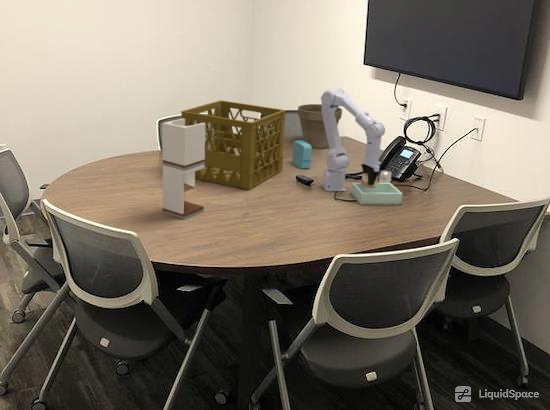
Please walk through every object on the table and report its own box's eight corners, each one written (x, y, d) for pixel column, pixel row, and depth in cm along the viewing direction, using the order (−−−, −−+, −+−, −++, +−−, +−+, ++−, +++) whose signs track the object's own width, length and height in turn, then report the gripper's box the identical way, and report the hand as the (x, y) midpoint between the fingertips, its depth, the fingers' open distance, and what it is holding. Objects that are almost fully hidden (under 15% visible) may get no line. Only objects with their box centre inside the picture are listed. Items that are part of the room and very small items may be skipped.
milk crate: (180, 176, 262) (180, 111, 252) (219, 158, 293) (220, 100, 282) (249, 191, 249) (252, 123, 239) (282, 171, 280) (286, 110, 269)
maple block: (365, 187, 243) (366, 176, 242) (361, 184, 248) (362, 173, 246) (376, 187, 244) (377, 176, 243) (372, 184, 249) (373, 173, 247)
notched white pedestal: (184, 219, 214) (185, 128, 202) (163, 213, 219) (162, 122, 207) (203, 211, 223) (205, 123, 211) (182, 205, 228) (183, 118, 216)
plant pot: (292, 148, 321) (295, 109, 314) (298, 138, 344) (300, 102, 336) (336, 152, 318) (340, 114, 310) (339, 142, 341) (343, 106, 333)
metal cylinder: (380, 188, 264) (382, 173, 261) (377, 184, 268) (379, 170, 266) (391, 188, 265) (393, 173, 262) (387, 184, 269) (389, 170, 267)
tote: (360, 205, 241) (362, 193, 239) (350, 193, 254) (351, 183, 252) (401, 204, 244) (402, 193, 243) (389, 193, 257) (390, 183, 255)
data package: (310, 169, 285) (312, 145, 281) (302, 169, 284) (303, 146, 280) (299, 162, 296) (301, 139, 291) (291, 162, 294) (293, 140, 290)
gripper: (387, 156, 235) (383, 188, 240) (375, 147, 248) (371, 177, 253) (371, 156, 234) (367, 188, 238) (360, 147, 247) (356, 177, 252)
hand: (368, 182), depth 246 cm, fingers closed on maple block, 5 cm apart
